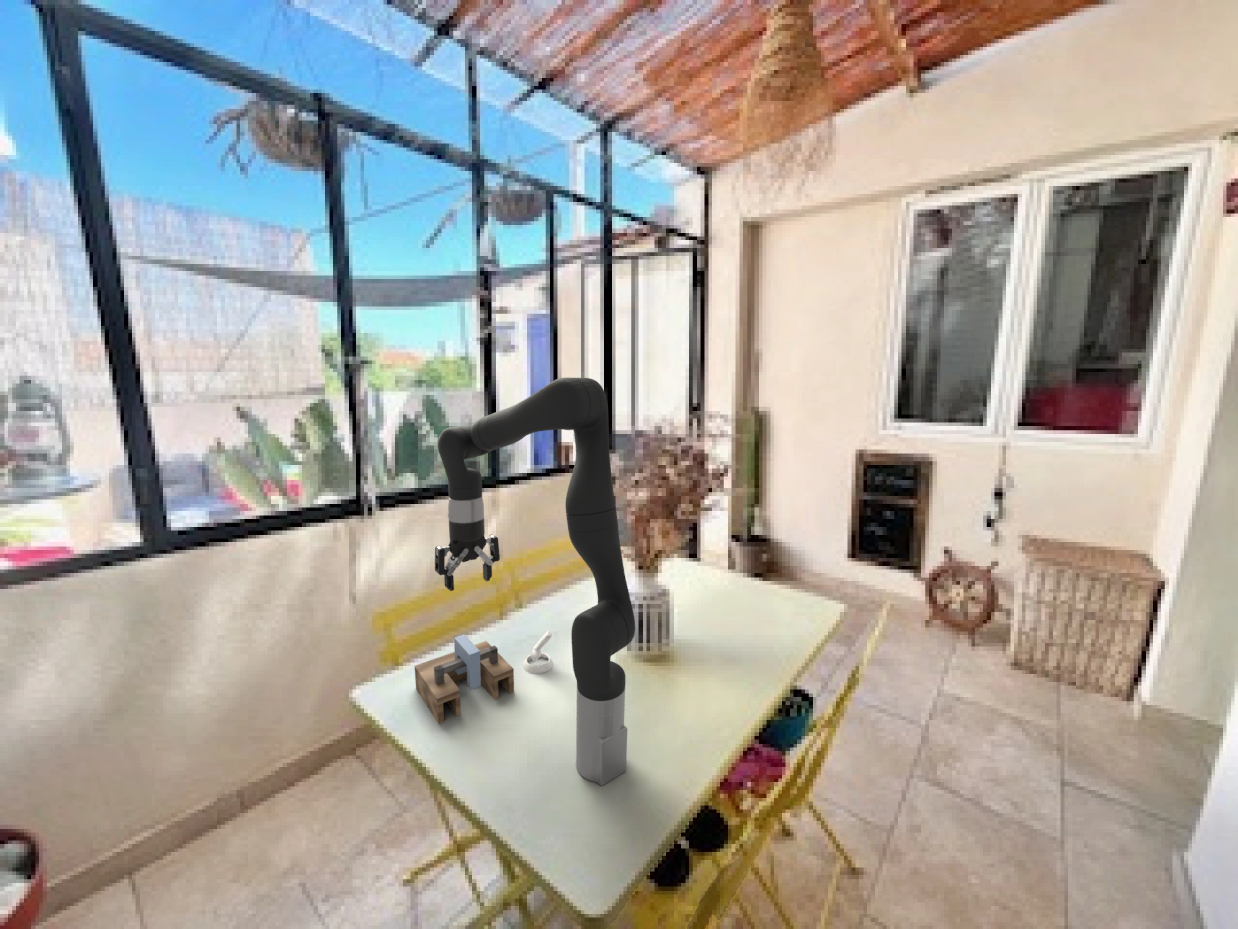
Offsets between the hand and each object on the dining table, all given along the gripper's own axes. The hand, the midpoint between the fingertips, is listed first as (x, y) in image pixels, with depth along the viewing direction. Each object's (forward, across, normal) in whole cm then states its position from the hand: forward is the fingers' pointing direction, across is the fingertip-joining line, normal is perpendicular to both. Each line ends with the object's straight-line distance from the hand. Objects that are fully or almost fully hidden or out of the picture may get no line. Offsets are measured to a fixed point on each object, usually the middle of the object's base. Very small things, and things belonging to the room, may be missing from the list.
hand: (469, 584), depth 114 cm
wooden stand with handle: (+27, -1, +2) cm, 27 cm away
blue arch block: (+23, -2, 0) cm, 23 cm away
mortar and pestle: (+27, +18, 0) cm, 33 cm away
